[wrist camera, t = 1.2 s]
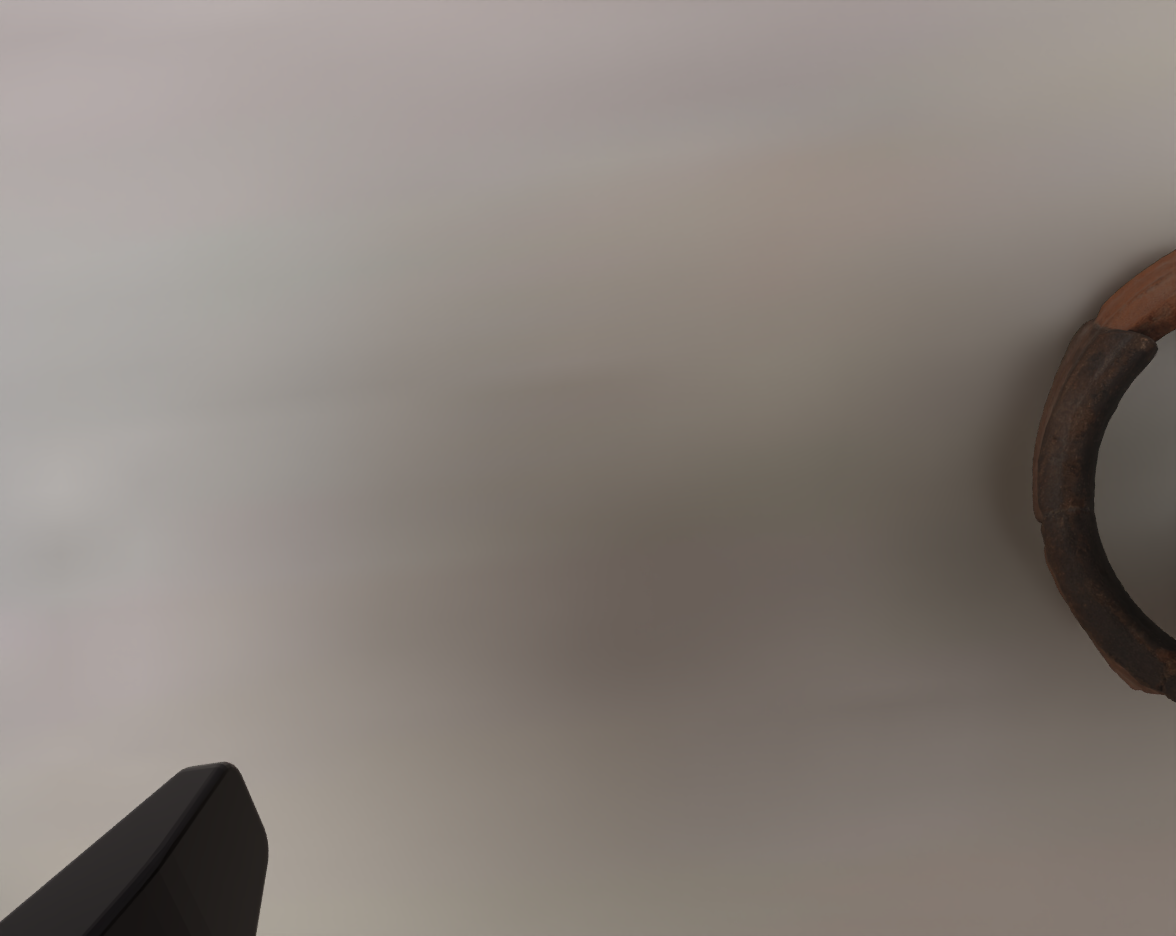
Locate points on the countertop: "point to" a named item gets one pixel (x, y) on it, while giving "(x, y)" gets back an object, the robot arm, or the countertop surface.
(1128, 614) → the pottery mug
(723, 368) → the countertop surface
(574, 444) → the countertop surface
